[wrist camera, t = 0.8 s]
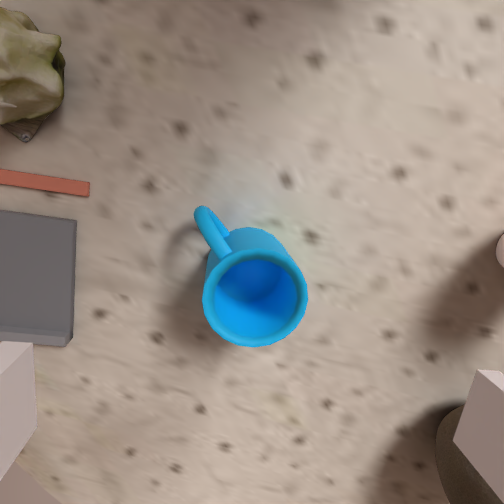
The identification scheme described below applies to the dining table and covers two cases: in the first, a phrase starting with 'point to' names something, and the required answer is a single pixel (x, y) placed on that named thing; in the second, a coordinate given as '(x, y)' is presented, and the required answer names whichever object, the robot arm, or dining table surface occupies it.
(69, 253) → the mat
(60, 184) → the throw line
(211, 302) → the mug
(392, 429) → the dining table surface
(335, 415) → the dining table surface
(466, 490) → the dark grey round stone
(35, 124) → the fruit
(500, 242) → the mug
